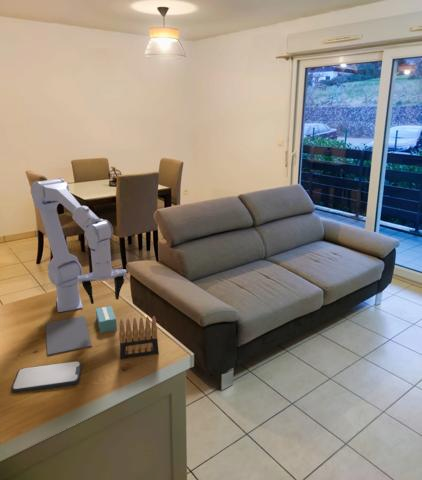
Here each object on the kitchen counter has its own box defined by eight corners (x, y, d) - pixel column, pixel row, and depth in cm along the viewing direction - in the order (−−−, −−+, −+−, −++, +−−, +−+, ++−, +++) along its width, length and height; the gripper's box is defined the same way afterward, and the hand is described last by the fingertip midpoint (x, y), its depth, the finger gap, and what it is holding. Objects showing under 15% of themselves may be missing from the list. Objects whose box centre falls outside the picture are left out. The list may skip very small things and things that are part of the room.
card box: (96, 319, 128) (95, 308, 126) (112, 316, 130) (111, 305, 128) (100, 333, 120) (99, 321, 119) (116, 330, 122) (116, 318, 121)
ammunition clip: (157, 350, 112) (156, 313, 108) (158, 353, 110) (157, 316, 106) (120, 355, 109) (117, 318, 105) (120, 359, 108) (117, 321, 104)
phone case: (10, 396, 94) (79, 386, 97) (9, 390, 94) (78, 381, 97) (19, 373, 102) (82, 364, 106) (18, 368, 102) (81, 359, 105)
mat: (45, 324, 124) (45, 322, 124) (84, 316, 129) (84, 315, 128) (47, 355, 108) (47, 354, 108) (91, 346, 113) (91, 345, 113)
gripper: (77, 268, 111) (82, 310, 116) (128, 261, 117) (130, 301, 121) (75, 260, 117) (79, 300, 122) (123, 253, 123) (125, 292, 127)
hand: (104, 300), depth 122 cm, fingers open, 7 cm apart
